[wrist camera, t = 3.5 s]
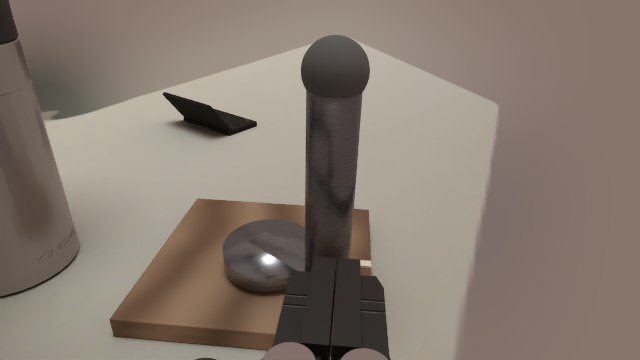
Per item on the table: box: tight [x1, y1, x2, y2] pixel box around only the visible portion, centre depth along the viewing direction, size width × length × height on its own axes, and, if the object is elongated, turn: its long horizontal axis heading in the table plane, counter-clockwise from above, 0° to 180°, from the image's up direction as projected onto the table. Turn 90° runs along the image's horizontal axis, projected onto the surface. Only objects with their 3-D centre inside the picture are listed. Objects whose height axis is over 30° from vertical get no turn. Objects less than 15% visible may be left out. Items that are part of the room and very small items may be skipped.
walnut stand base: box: [109, 199, 371, 356], centre depth 33 cm, size 17×16×2 cm
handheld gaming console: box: [163, 92, 257, 136], centre depth 63 cm, size 12×7×10 cm
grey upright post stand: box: [222, 35, 370, 294], centre depth 26 cm, size 11×7×17 cm, turn 50°
